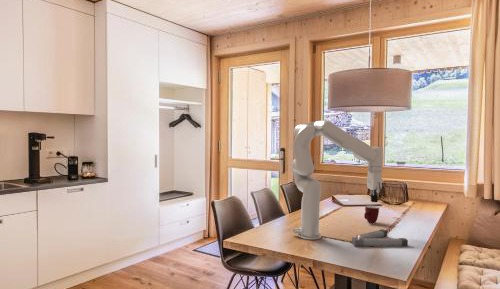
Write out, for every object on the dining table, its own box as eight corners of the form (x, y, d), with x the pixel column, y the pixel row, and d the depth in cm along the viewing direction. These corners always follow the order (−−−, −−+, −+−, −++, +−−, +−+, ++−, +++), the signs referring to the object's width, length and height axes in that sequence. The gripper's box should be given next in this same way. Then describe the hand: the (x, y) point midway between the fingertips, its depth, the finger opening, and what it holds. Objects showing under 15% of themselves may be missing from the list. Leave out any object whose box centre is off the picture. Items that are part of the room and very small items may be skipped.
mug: (371, 226, 208) (372, 209, 207) (359, 223, 214) (360, 207, 213) (380, 223, 215) (381, 207, 214) (369, 220, 221) (369, 204, 220)
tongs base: (354, 246, 171) (355, 238, 171) (351, 243, 176) (351, 235, 176) (408, 246, 172) (408, 238, 172) (403, 243, 177) (403, 235, 177)
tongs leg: (360, 242, 176) (361, 236, 176) (356, 241, 179) (356, 235, 179) (387, 236, 188) (387, 230, 188) (382, 234, 191) (382, 229, 191)
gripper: (363, 167, 199) (362, 199, 200) (373, 170, 184) (373, 205, 185) (376, 167, 200) (375, 199, 201) (387, 170, 185) (386, 204, 186)
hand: (374, 201), depth 193 cm, fingers closed
